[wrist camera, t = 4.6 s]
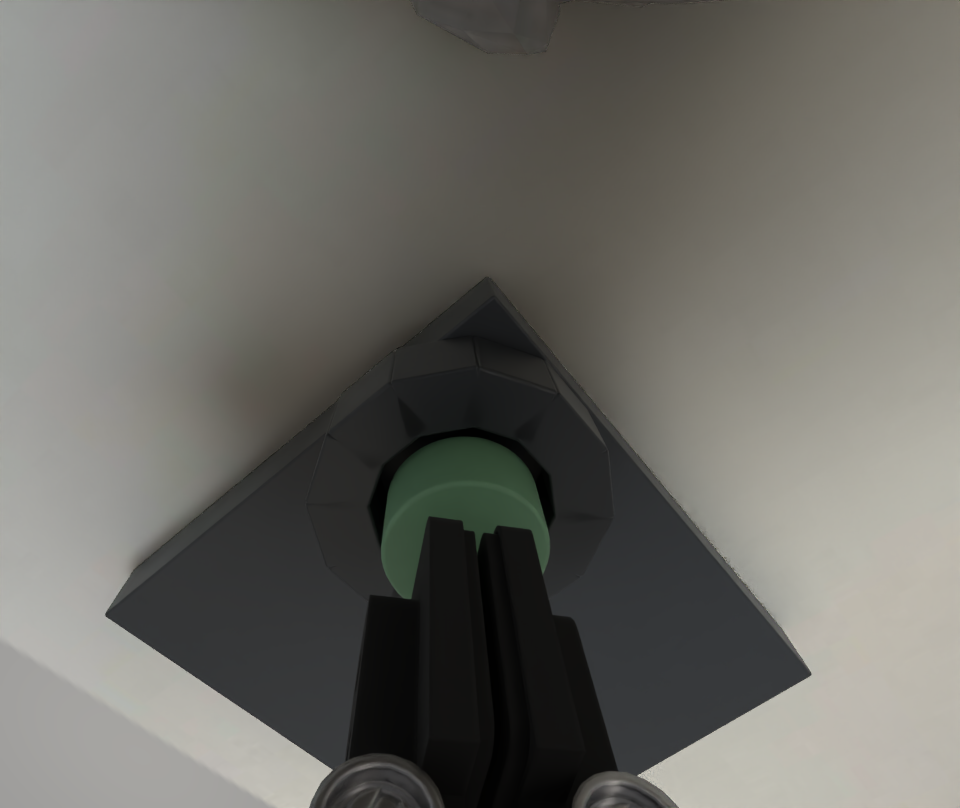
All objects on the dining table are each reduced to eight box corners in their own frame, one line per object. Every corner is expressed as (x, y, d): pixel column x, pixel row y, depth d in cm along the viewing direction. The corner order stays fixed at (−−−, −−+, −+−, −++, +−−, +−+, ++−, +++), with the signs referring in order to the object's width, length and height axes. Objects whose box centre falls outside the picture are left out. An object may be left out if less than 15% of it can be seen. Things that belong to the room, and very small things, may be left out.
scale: (119, 559, 17) (44, 665, 13) (475, 258, 14) (487, 302, 11) (474, 814, 22) (481, 934, 19) (782, 630, 19) (852, 733, 16)
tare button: (355, 496, 13) (344, 551, 11) (472, 405, 12) (478, 449, 10) (454, 584, 14) (456, 646, 12) (566, 505, 13) (584, 560, 11)
